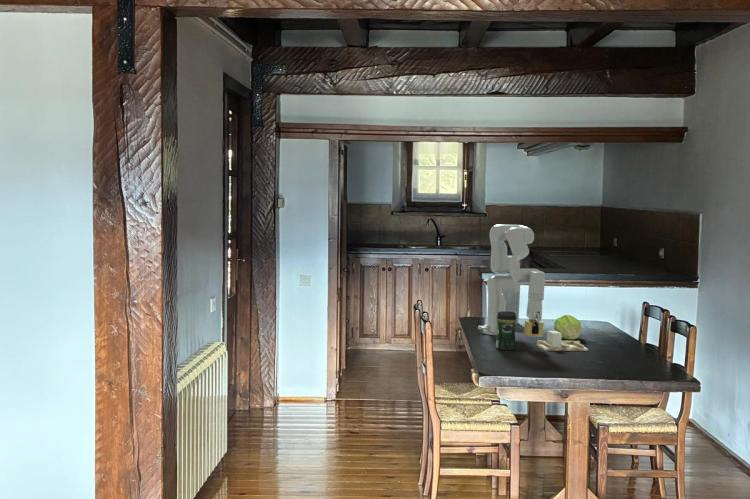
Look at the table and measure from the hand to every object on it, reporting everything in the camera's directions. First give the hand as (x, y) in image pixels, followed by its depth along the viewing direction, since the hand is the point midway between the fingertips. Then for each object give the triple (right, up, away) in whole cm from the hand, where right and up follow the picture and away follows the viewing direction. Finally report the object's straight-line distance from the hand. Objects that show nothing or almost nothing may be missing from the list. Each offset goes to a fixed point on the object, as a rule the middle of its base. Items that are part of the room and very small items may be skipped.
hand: (533, 332), depth 375 cm
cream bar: (+11, -7, +4) cm, 14 cm away
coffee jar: (-14, -8, -1) cm, 16 cm away
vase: (+2, -3, +75) cm, 75 cm away
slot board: (+16, -8, +5) cm, 18 cm away
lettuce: (+25, -7, +30) cm, 39 cm away
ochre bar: (0, -1, 0) cm, 1 cm away
